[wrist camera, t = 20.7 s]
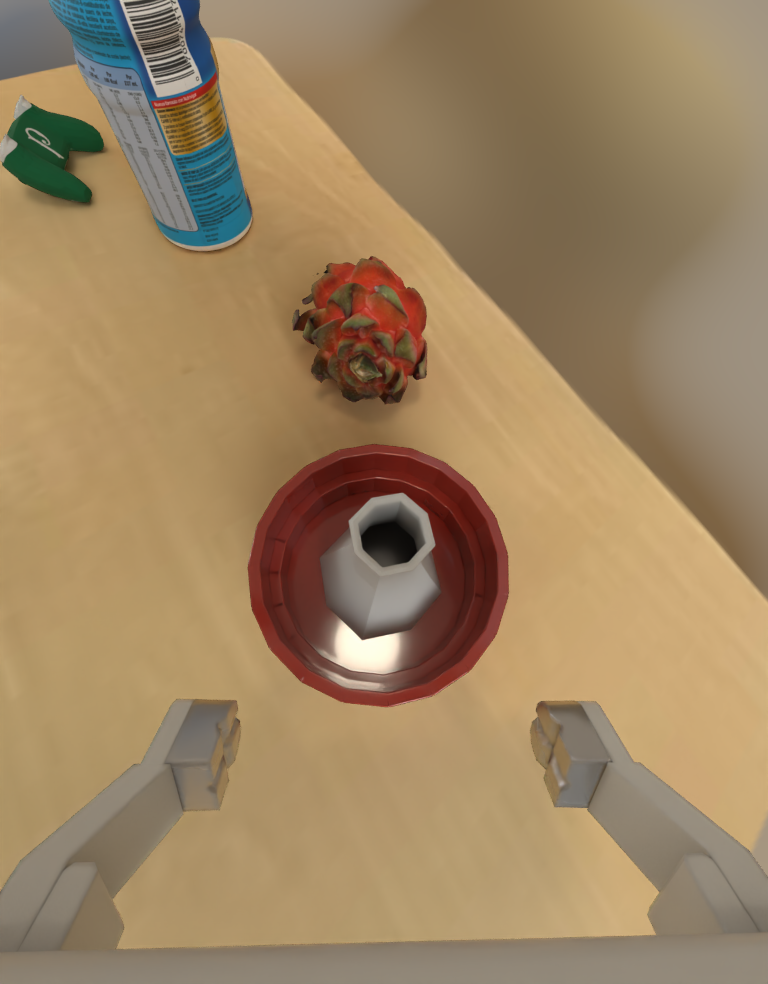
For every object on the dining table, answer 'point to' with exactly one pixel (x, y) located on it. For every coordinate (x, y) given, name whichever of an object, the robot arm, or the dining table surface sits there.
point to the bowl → (300, 591)
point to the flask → (382, 568)
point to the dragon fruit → (365, 330)
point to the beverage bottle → (164, 112)
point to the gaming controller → (47, 150)
